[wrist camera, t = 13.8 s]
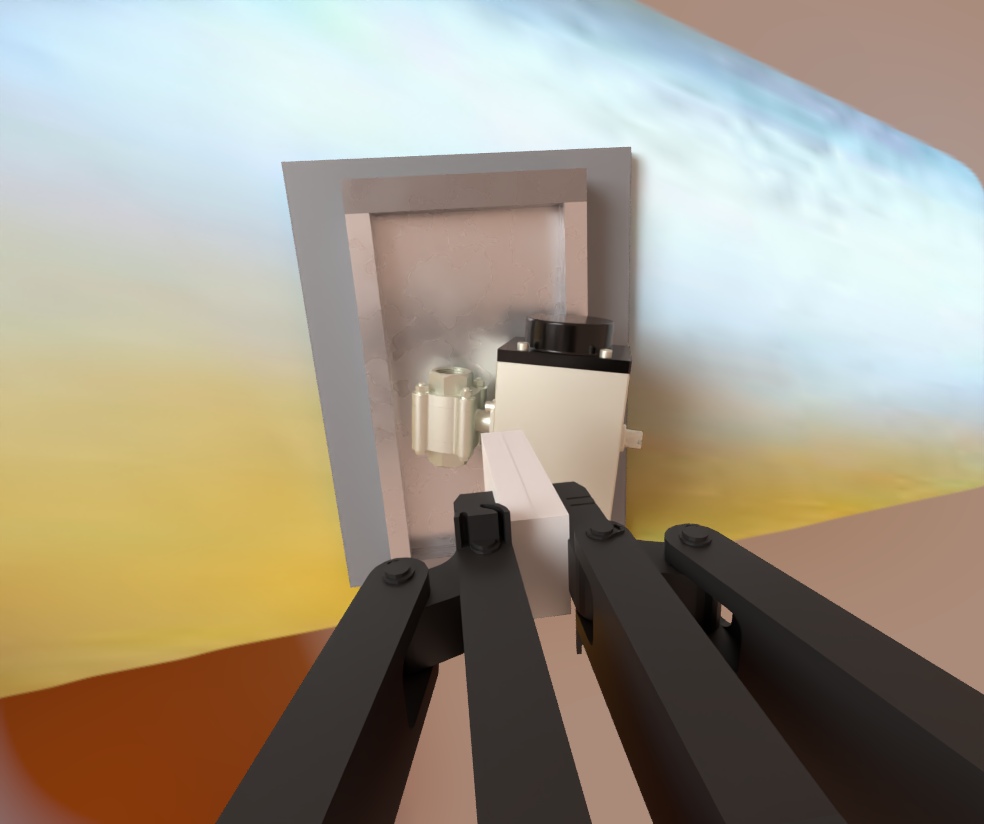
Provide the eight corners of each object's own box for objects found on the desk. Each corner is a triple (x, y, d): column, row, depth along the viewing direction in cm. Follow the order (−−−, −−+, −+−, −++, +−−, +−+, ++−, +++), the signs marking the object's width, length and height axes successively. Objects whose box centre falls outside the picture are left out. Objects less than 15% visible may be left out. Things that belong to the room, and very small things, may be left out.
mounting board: (352, 578, 34) (350, 587, 33) (286, 165, 27) (281, 162, 26) (619, 548, 36) (624, 555, 35) (624, 150, 29) (631, 146, 28)
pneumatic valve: (404, 526, 27) (627, 565, 25) (404, 310, 24) (662, 330, 21) (438, 485, 32) (625, 514, 30) (441, 303, 29) (653, 318, 27)
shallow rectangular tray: (397, 563, 33) (394, 586, 31) (348, 187, 27) (340, 179, 24) (578, 543, 34) (589, 563, 32) (573, 176, 28) (586, 167, 25)
